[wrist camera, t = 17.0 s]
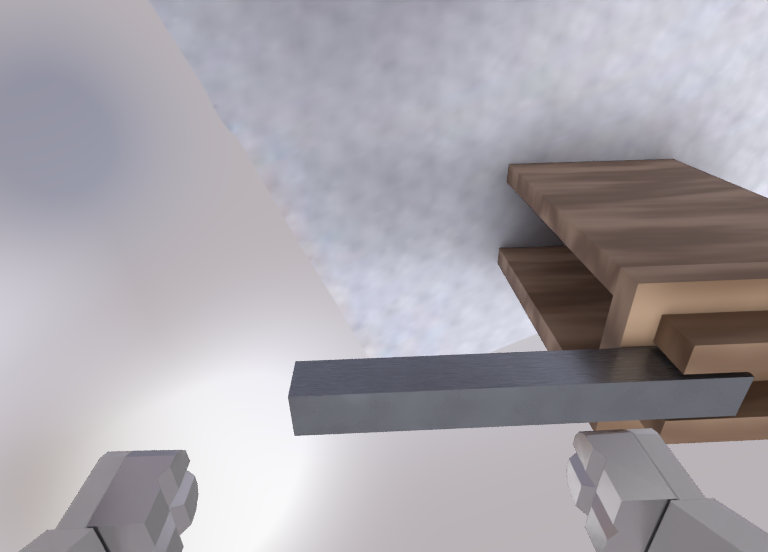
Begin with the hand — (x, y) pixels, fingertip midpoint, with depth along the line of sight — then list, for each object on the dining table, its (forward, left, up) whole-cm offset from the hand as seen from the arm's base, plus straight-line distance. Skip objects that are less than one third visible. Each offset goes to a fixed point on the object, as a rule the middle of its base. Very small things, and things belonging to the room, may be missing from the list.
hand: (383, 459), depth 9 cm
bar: (+11, +8, -15) cm, 20 cm away
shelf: (+11, +24, -41) cm, 49 cm away
